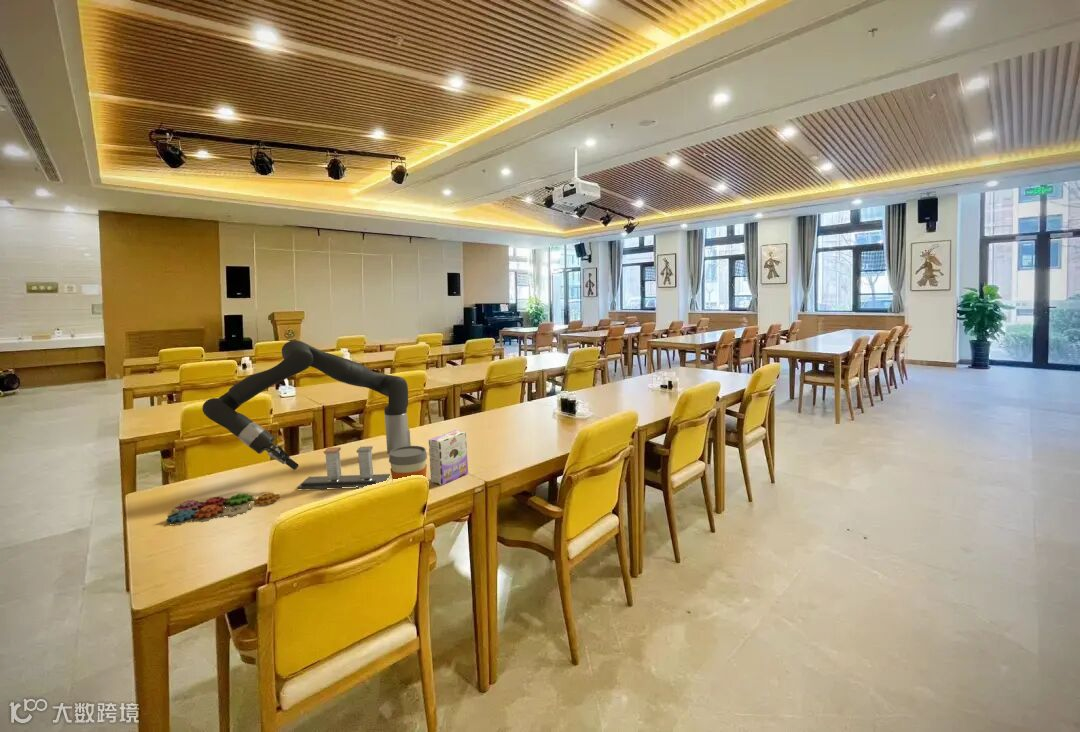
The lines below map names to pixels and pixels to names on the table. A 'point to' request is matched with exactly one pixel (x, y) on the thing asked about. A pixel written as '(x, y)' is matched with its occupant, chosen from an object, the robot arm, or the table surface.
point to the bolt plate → (349, 480)
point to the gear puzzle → (217, 508)
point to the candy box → (448, 457)
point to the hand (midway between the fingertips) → (296, 467)
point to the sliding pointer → (333, 463)
